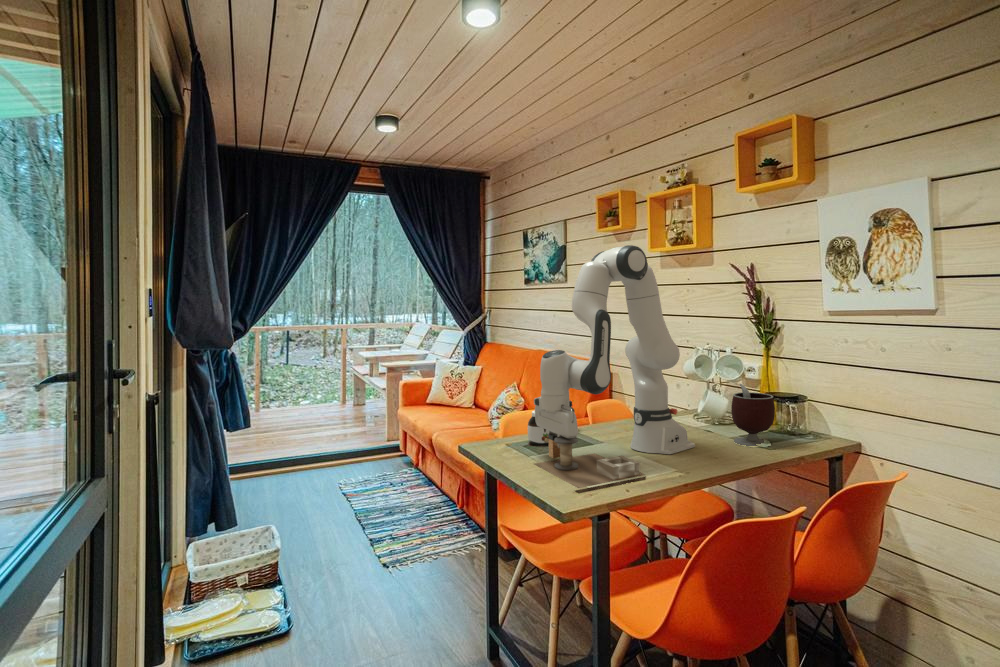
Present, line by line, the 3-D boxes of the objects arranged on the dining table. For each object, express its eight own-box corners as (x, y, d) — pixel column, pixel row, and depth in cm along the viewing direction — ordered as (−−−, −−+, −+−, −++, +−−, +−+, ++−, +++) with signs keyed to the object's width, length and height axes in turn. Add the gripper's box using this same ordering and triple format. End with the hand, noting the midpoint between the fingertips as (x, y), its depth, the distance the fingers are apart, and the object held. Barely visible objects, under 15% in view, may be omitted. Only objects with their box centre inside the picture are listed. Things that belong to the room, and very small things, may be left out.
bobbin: (569, 462, 169) (569, 434, 168) (582, 468, 162) (582, 439, 162) (550, 465, 166) (550, 437, 165) (562, 472, 159) (562, 443, 159)
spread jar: (528, 446, 194) (527, 414, 194) (527, 438, 206) (526, 407, 205) (561, 445, 194) (561, 413, 193) (558, 437, 205) (558, 407, 205)
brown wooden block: (559, 454, 173) (559, 432, 172) (564, 456, 171) (563, 434, 170) (548, 456, 171) (548, 434, 171) (553, 458, 169) (552, 436, 168)
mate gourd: (782, 447, 185) (783, 389, 184) (743, 449, 185) (743, 391, 183) (758, 436, 201) (758, 383, 200) (722, 438, 200) (722, 384, 199)
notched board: (594, 457, 178) (594, 442, 178) (645, 479, 156) (645, 462, 155) (533, 468, 168) (533, 452, 168) (578, 493, 146) (578, 475, 145)
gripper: (582, 407, 162) (583, 452, 163) (547, 396, 180) (548, 437, 181) (564, 409, 159) (565, 455, 160) (531, 398, 178) (532, 440, 178)
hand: (556, 445), depth 171 cm, fingers closed on brown wooden block, 3 cm apart
